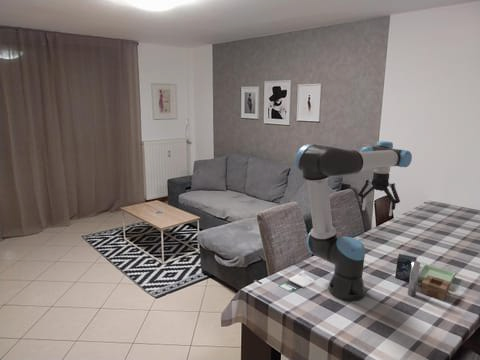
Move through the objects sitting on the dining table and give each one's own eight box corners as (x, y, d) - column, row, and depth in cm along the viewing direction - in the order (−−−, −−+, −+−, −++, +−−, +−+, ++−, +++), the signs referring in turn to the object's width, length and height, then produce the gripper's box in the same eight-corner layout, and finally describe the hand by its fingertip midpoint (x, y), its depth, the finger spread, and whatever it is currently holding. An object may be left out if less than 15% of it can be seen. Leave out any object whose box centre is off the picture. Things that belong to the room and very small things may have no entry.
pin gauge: (414, 297, 148) (419, 265, 145) (406, 294, 150) (410, 262, 147) (416, 294, 150) (421, 262, 147) (408, 291, 152) (413, 260, 149)
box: (394, 278, 164) (397, 257, 162) (396, 273, 169) (398, 253, 167) (413, 282, 160) (416, 261, 158) (414, 277, 165) (416, 256, 163)
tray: (447, 290, 154) (448, 284, 154) (414, 279, 163) (415, 274, 162) (454, 277, 166) (455, 272, 165) (423, 268, 174) (424, 263, 174)
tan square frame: (443, 300, 146) (445, 289, 145) (420, 292, 152) (422, 282, 151) (448, 292, 153) (450, 281, 151) (426, 285, 158) (427, 275, 157)
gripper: (410, 174, 169) (404, 216, 174) (359, 168, 184) (355, 206, 189) (406, 176, 163) (400, 219, 168) (354, 169, 179) (350, 209, 183)
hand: (376, 212), depth 178 cm, fingers open, 13 cm apart
